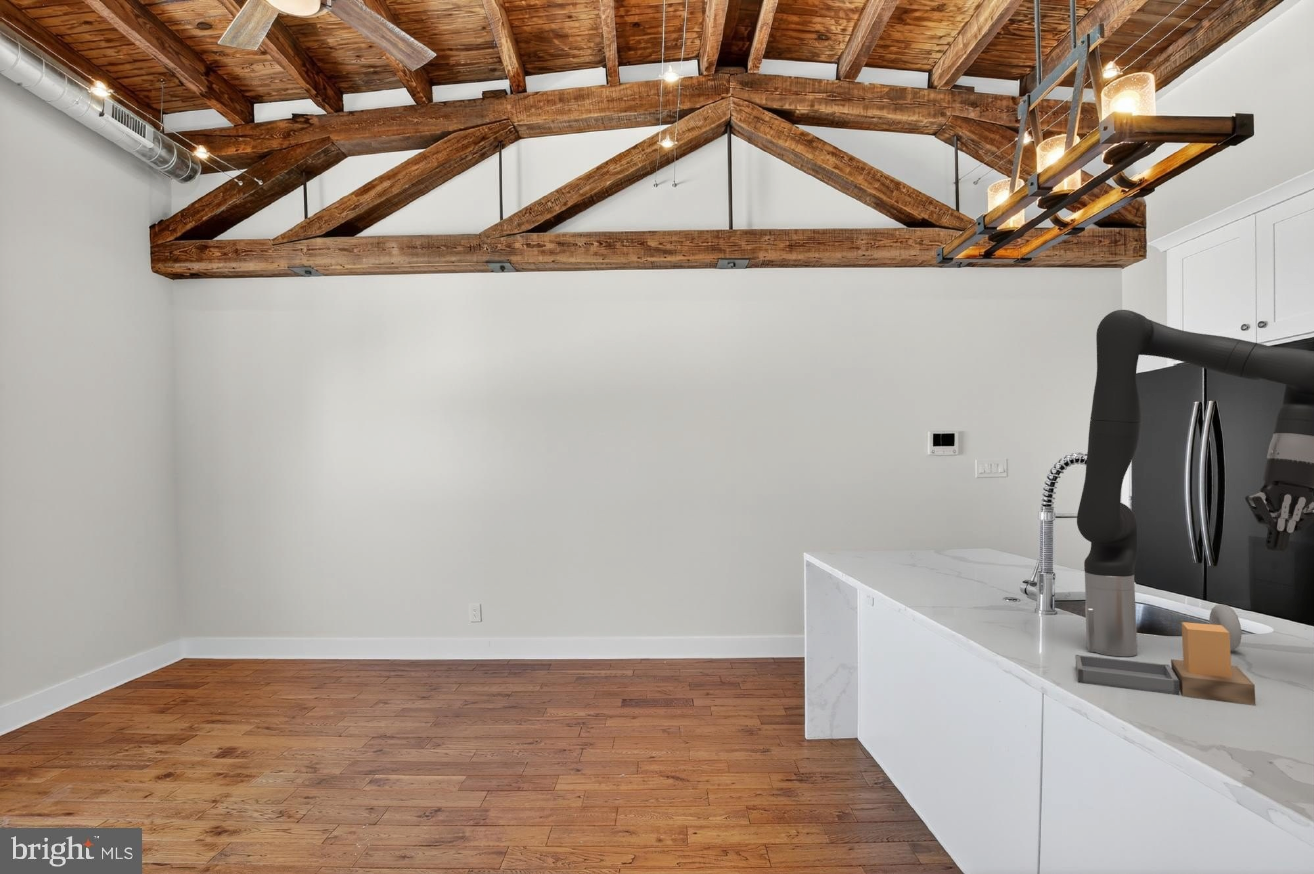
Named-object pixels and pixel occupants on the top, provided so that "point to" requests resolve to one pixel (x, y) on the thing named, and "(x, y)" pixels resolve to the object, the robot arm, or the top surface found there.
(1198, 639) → the orange block
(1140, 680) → the tray
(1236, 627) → the donut
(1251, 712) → the top surface
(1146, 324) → the robot arm
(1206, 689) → the walnut board
